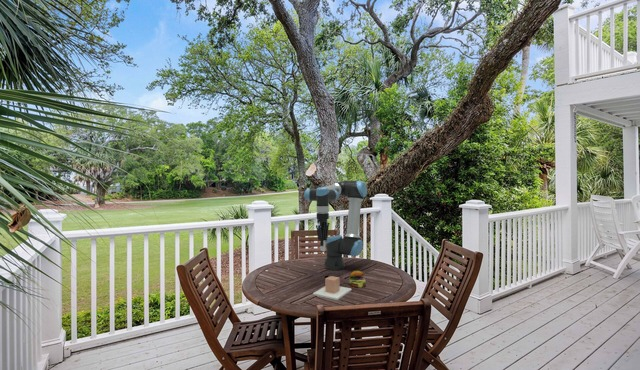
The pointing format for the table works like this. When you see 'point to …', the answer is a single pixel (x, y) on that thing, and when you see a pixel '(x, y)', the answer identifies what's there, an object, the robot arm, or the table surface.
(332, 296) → the post board
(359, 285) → the cheeseburger
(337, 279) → the tan wooden block
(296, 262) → the table surface
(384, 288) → the table surface
